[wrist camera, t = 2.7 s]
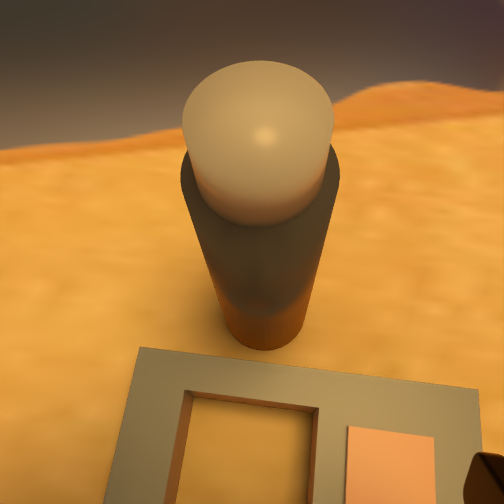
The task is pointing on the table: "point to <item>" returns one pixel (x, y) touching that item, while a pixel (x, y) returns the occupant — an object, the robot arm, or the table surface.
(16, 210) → the table surface
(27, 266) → the table surface
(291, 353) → the table surface
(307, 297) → the grey and beige cylinder
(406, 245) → the table surface
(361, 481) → the socket plate
